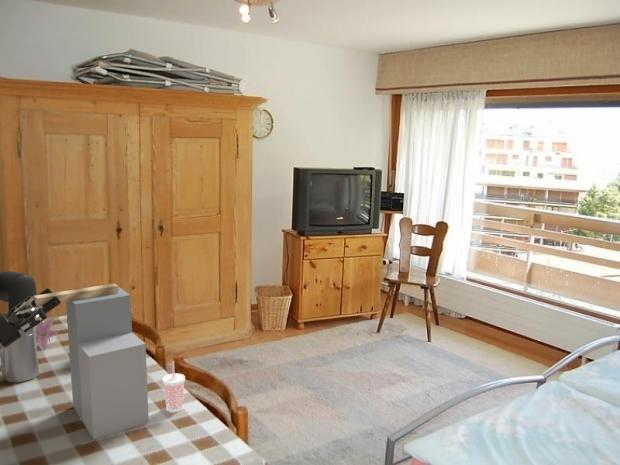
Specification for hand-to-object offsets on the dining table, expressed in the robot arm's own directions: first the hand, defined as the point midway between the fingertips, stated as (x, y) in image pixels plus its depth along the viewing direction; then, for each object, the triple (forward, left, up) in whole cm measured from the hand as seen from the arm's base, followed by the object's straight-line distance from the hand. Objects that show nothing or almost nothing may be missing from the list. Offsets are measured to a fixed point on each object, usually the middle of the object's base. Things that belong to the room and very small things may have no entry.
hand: (54, 294), depth 135 cm
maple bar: (+4, +4, -2) cm, 6 cm away
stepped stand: (+11, +4, -34) cm, 36 cm away
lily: (-36, +45, -35) cm, 67 cm away
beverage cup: (+27, +10, -35) cm, 45 cm away
